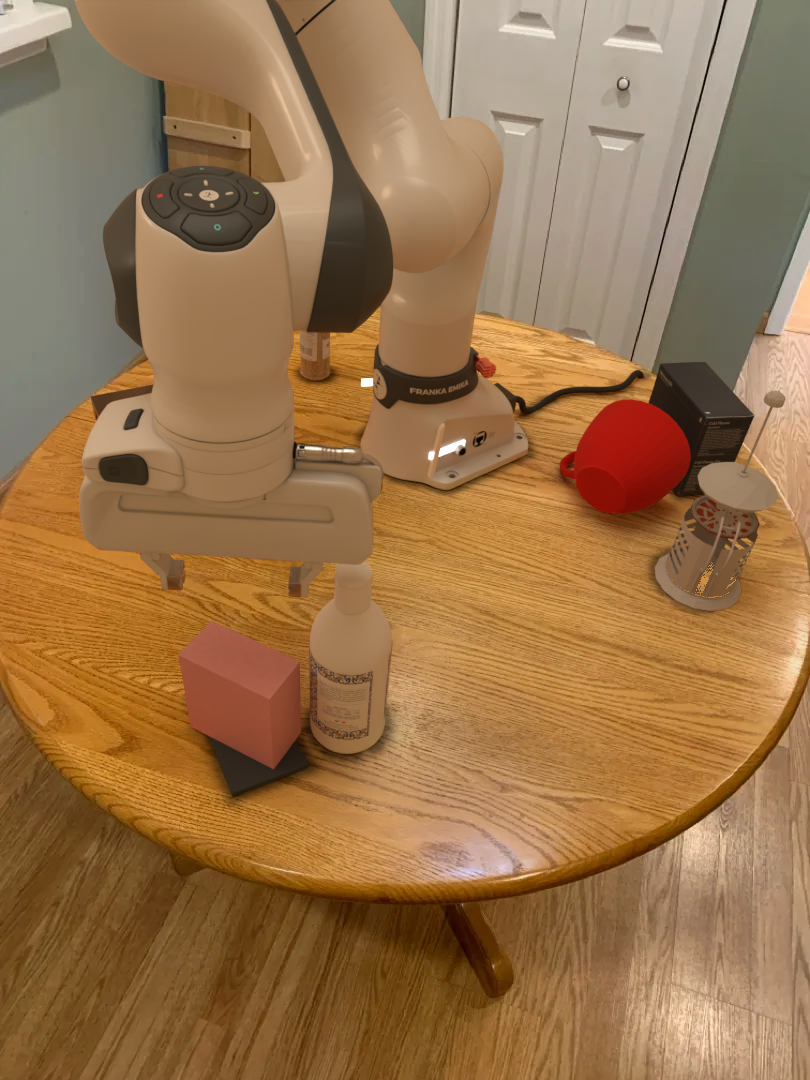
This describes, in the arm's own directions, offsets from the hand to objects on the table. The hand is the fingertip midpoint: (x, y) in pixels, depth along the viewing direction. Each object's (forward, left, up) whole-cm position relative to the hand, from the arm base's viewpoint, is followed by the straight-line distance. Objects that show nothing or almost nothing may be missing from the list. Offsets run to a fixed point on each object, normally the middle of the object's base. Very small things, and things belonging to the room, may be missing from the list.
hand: (236, 587), depth 64 cm
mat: (0, 0, -19) cm, 19 cm away
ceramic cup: (-47, -13, -15) cm, 51 cm away
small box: (-66, -17, -19) cm, 71 cm away
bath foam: (-9, +3, -19) cm, 21 cm away
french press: (-53, +2, -19) cm, 56 cm away
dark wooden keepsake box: (-5, -43, -19) cm, 48 cm away
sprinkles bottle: (-30, -55, -19) cm, 66 cm away
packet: (0, 0, -18) cm, 18 cm away
